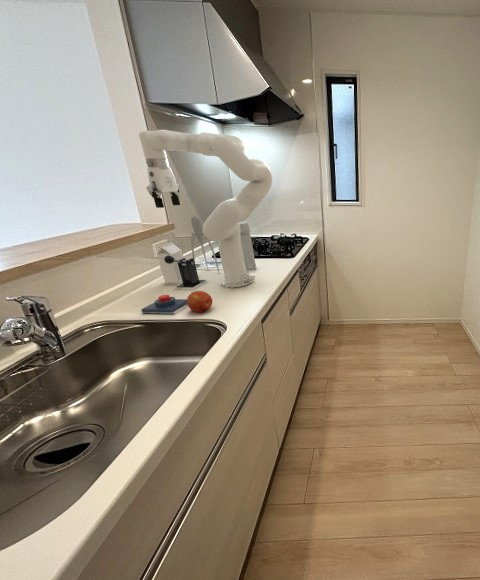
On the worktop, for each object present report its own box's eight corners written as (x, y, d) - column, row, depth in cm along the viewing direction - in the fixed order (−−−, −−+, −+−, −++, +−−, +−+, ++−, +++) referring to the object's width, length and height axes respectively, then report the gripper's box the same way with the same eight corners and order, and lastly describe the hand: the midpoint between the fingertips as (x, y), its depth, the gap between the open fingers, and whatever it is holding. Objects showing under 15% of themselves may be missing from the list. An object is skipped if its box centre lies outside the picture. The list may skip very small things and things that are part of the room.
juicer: (214, 276, 158) (200, 216, 147) (196, 276, 158) (181, 216, 147) (224, 270, 168) (212, 213, 157) (208, 270, 168) (194, 213, 157)
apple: (206, 305, 124) (201, 286, 121) (219, 309, 120) (214, 290, 117) (185, 312, 118) (180, 293, 115) (198, 317, 114) (193, 297, 111)
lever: (169, 263, 130) (170, 254, 130) (161, 263, 130) (162, 254, 131) (191, 267, 143) (192, 259, 143) (184, 267, 143) (185, 259, 144)
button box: (190, 304, 125) (188, 295, 124) (172, 315, 116) (170, 305, 115) (162, 303, 126) (159, 294, 125) (142, 314, 117) (139, 304, 116)
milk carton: (189, 280, 153) (180, 242, 147) (179, 285, 147) (168, 245, 140) (176, 279, 154) (166, 242, 147) (165, 284, 148) (154, 245, 141)
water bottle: (259, 268, 171) (252, 222, 162) (249, 272, 164) (240, 224, 155) (246, 266, 174) (238, 221, 165) (235, 270, 167) (226, 223, 158)
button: (172, 298, 121) (171, 294, 121) (166, 302, 118) (164, 298, 117) (164, 298, 122) (162, 294, 121) (157, 302, 118) (155, 298, 118)
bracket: (193, 289, 141) (186, 262, 136) (176, 289, 142) (169, 262, 137) (206, 282, 150) (200, 256, 146) (191, 282, 151) (184, 256, 146)
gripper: (149, 163, 122) (161, 208, 128) (180, 164, 138) (190, 204, 144) (132, 164, 122) (144, 208, 128) (164, 164, 138) (174, 204, 144)
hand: (168, 206), depth 136 cm, fingers open, 9 cm apart
